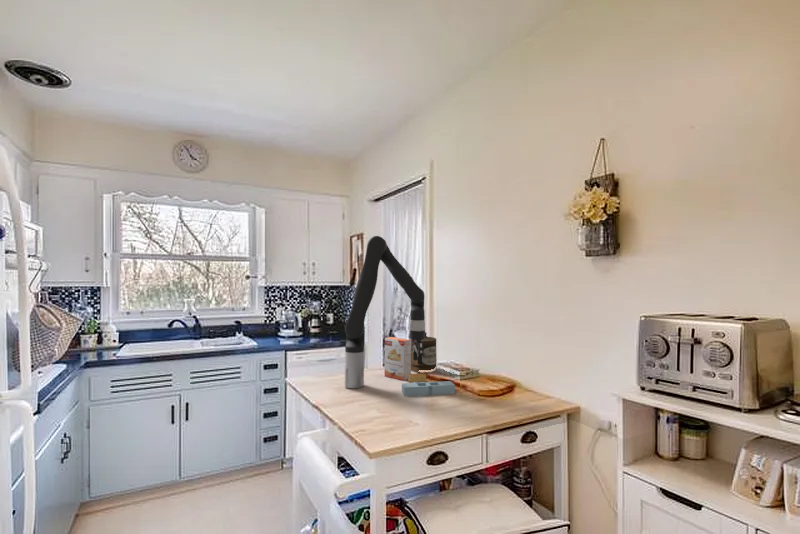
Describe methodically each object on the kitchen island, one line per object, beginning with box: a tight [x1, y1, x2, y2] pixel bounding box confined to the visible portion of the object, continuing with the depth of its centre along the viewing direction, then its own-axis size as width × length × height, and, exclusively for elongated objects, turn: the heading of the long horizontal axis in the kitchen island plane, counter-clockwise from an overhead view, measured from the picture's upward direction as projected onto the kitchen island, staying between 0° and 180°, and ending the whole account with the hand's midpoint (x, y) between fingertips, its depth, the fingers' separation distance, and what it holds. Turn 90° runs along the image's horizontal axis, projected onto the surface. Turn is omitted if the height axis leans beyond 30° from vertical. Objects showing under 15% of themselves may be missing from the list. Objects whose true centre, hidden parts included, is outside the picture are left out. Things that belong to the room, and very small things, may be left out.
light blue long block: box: [401, 380, 456, 397], centre depth 199 cm, size 24×7×4 cm, turn 102°
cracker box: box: [384, 336, 412, 381], centre depth 226 cm, size 14×6×21 cm, turn 50°
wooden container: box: [410, 331, 438, 373], centre depth 243 cm, size 15×15×22 cm
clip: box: [408, 372, 427, 383], centre depth 208 cm, size 8×3×6 cm, turn 102°
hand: (417, 362), depth 208 cm, fingers open, 8 cm apart
